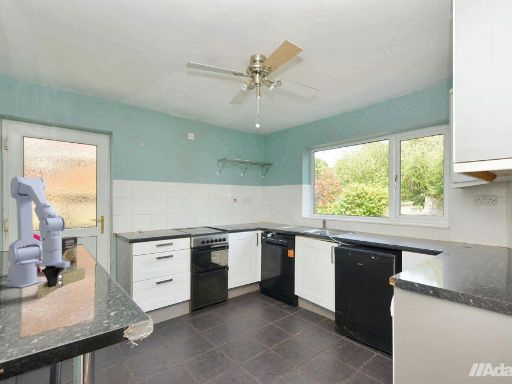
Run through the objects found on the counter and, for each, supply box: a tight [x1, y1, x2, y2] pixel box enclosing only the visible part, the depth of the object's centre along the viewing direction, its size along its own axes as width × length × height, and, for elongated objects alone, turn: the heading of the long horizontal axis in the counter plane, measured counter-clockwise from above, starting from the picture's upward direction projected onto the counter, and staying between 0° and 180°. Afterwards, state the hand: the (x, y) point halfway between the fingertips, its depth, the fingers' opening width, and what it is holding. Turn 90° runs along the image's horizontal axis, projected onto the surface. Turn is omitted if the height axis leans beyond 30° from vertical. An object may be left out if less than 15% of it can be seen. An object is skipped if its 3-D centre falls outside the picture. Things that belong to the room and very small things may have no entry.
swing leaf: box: [37, 274, 62, 299], centre depth 98 cm, size 3×13×4 cm, turn 11°
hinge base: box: [56, 267, 86, 289], centre depth 108 cm, size 3×13×4 cm, turn 165°
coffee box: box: [59, 236, 78, 275], centre depth 126 cm, size 9×6×16 cm
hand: (52, 286), depth 96 cm, fingers closed, pressing on swing leaf
